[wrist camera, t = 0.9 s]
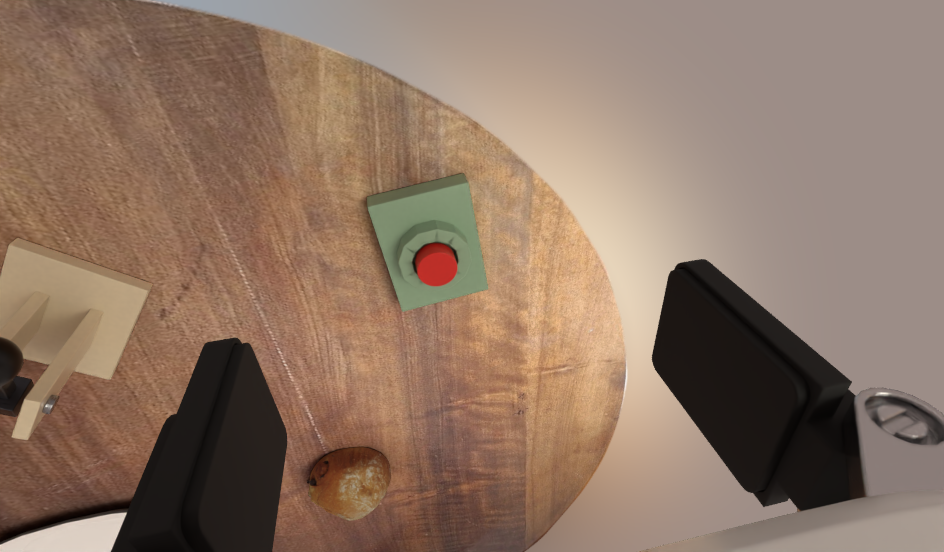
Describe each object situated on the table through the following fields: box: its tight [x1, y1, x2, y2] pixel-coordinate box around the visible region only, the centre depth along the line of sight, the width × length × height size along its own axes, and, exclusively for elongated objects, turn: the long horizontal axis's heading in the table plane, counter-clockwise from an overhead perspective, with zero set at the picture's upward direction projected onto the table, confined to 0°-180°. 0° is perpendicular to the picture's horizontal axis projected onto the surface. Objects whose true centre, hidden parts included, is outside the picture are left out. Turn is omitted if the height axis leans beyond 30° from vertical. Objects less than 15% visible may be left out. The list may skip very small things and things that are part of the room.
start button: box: [415, 243, 458, 286], centre depth 43 cm, size 4×4×2 cm
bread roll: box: [307, 447, 391, 521], centre depth 62 cm, size 10×10×8 cm
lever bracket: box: [0, 238, 153, 440], centre depth 39 cm, size 12×10×12 cm
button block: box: [367, 173, 488, 311], centre depth 45 cm, size 12×9×4 cm
